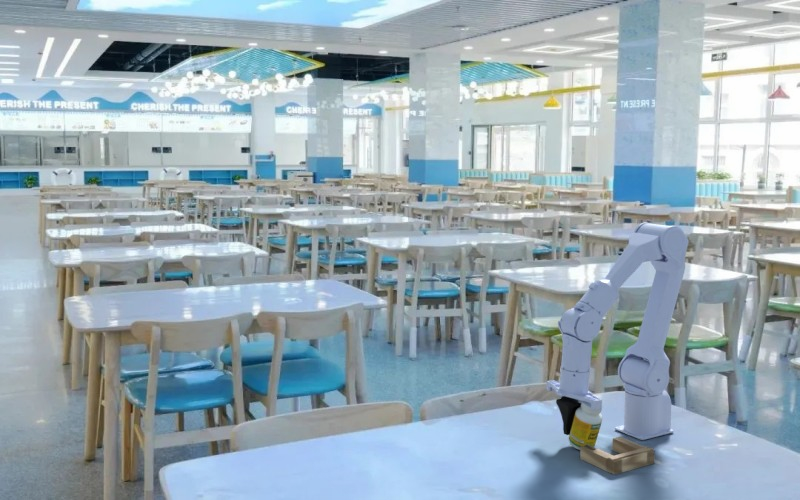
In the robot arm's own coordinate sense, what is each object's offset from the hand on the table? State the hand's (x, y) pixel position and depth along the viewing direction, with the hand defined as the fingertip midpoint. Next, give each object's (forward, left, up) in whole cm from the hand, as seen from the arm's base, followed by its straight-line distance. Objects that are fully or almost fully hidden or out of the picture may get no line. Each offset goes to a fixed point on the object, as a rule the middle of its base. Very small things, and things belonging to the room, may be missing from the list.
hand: (570, 434), depth 167 cm
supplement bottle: (-1, +2, -2) cm, 3 cm away
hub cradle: (-2, +11, -2) cm, 12 cm away
